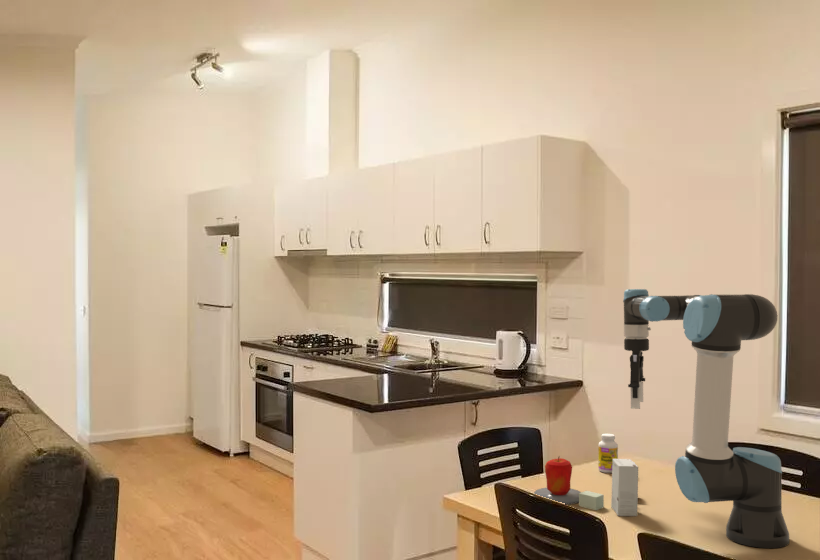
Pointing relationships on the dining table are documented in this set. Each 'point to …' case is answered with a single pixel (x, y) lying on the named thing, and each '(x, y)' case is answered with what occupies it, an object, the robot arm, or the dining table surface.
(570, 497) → the plate
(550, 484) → the red bell pepper
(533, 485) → the dining table surface
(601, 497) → the sage block
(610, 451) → the supplement bottle
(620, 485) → the skincare box
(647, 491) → the dining table surface
